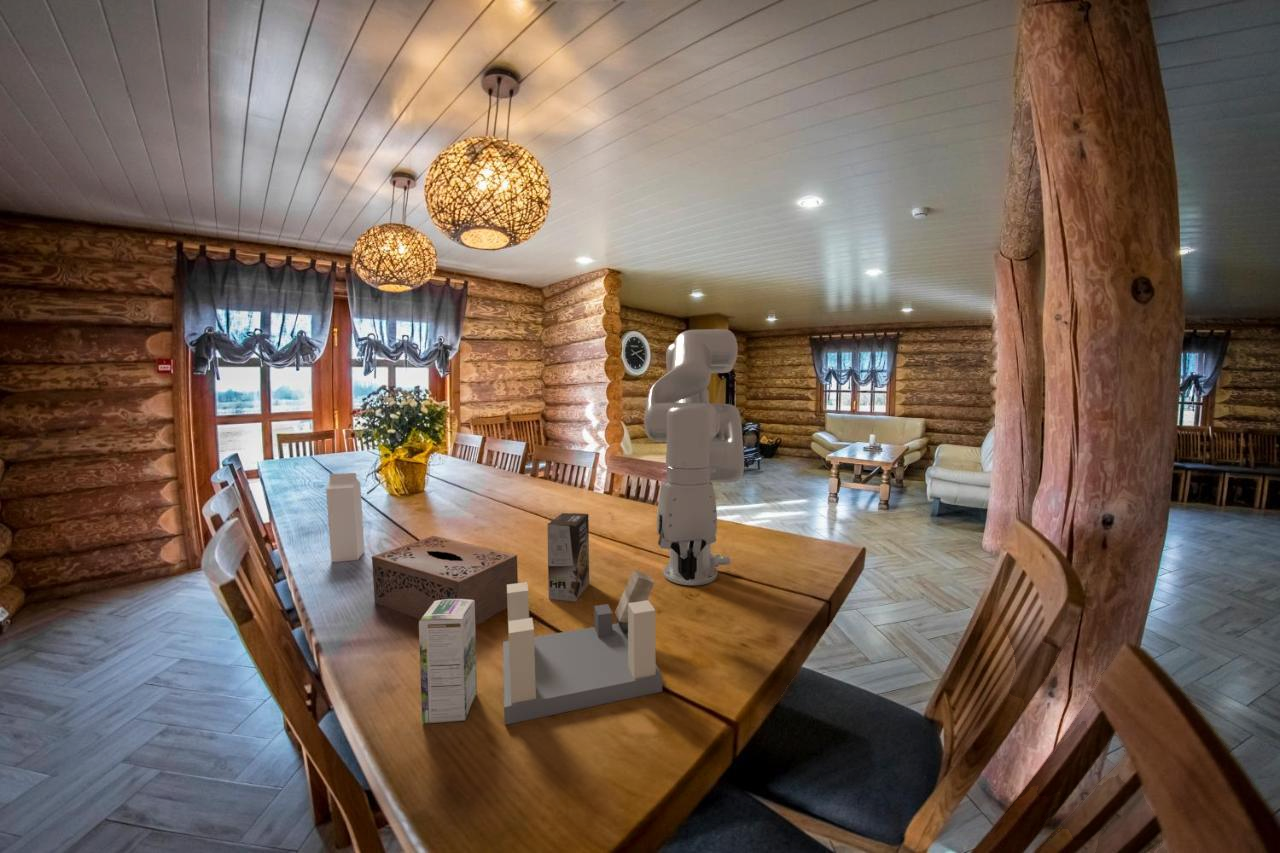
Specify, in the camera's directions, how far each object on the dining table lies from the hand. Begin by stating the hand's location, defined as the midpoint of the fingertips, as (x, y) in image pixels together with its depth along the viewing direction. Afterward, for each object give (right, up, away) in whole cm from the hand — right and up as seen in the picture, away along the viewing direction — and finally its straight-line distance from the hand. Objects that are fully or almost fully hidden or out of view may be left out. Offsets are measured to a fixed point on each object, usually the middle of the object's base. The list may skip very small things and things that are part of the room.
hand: (687, 576), depth 82 cm
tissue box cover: (-48, -10, +13) cm, 51 cm away
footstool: (-18, -11, -11) cm, 24 cm away
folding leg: (-12, -8, -3) cm, 15 cm away
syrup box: (-35, -12, -19) cm, 41 cm away
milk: (-84, -7, +37) cm, 92 cm away
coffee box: (-24, -9, +17) cm, 30 cm away
